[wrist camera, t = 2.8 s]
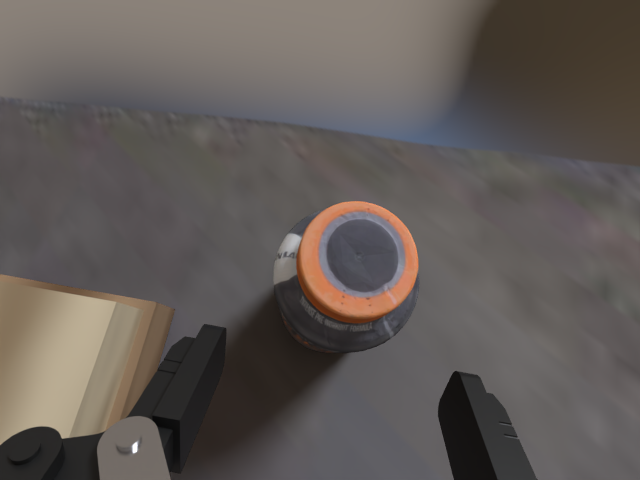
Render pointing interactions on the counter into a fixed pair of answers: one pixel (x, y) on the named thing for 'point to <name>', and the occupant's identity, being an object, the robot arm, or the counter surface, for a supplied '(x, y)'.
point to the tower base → (74, 356)
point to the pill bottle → (346, 278)
